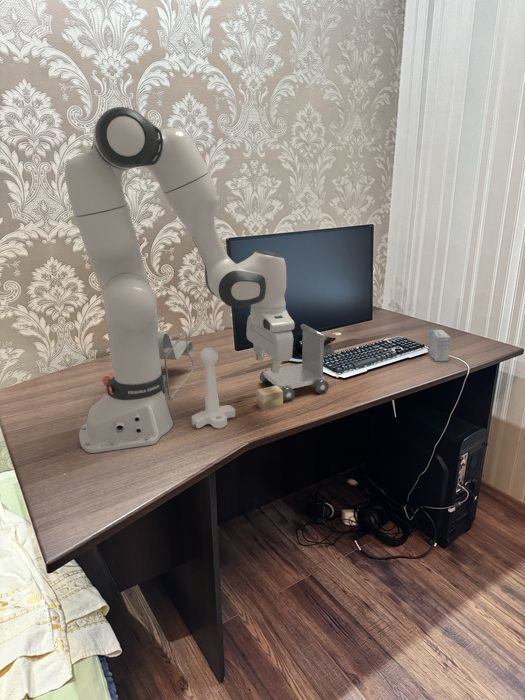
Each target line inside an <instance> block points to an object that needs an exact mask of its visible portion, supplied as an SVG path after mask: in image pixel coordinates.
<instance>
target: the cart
mask: <svg viewBox="0 0 525 700" xmlns="http://www.w3.org/2000/svg"><path fill="white" fill-rule="evenodd" d="M299 328H300V329H301V330H302V338H301V339H302V350H301V351H302V353H301V363H296V364H293V365H288V366H283V367H280V369H279V373H275V374H274V373H273V372H272V371H271V369H265V370H263V371H261V372H260V374H259V380H260V382H261V383H263V384H264V385H270V384H272V385H273V386H278V387H279V388H280V389H281V390H282V391H283V402H285V403H290V402H292V401H293V400H294V398H295V397H296V391H295V390H294V389H298V388H302V387H305V386H306V387H307V386H312V385H313V389H314V391H315V392H316V393H318V394H320V395H323V394H326V392H327V391H328V390H329V387H330V385H329V383H328V381H326V377H325V376H324V357H325V354H324V353H325V344H324V341H325V340H326V339H327V337H328V336H327V335H325V334H324V333H322V332H320V331H318V330H316V329H314V328H312V327H310V326H308V325H306V324H305V323H301V325H300V327H299Z"/></svg>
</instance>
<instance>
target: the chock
mask: <svg viewBox="0 0 525 700" xmlns="http://www.w3.org/2000/svg"><path fill="white" fill-rule="evenodd" d="M256 405H257V406H258V407H259V408H260V409H261V410H262V411H266V410H270V409H271V410H272V409H275V408H279V407H284V400H283V391H282V390H281V389H280V388H279V387H278V386H275V385H272V386H268V387H263V388H258V389H256Z"/></svg>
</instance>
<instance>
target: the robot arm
mask: <svg viewBox="0 0 525 700" xmlns="http://www.w3.org/2000/svg"><path fill="white" fill-rule="evenodd" d="M140 167H143V168H144V167H145V168H146V169H148V170H149V171H150V172H151V173H152V174H153V176H154V178H155V179H156V181H157V182H158V184H159V187H160V189H161V191H162V193H163V195H164V197H165V199H166V201H167V202H168V204H169V206H170V207H171V209H172V211H173V212H174V214H175V215H176V217H177V218H178V219H179V220H180V222H181V223H182V225H184V227H185V228H186V230H187V231H188V233H189V234H190V236H191V239H192V240H193V242H194V245H195V247H196V249H197V251H198V253H199V255H200V258H201V260H202V262H203V266H204V267H203V268H204V280H205V285H206V287H207V289H208V291H209V292H210V293H211V294H212V295H213V296H214V297H217V298H218V299H219V300H220V301H221V302H222V303H224V304H225V305H226V306H228V307H231V308H244V307H248V306H250V313H249V314H250V315H248V317H247V320H246V334H245V335H246V339H247V340H248V341H249V342H250V343H252V344H253V346H252V347H253V350H254V354H255V360H257V361H258V362H260V361H261V362H262V361H264V353H265V354H267V356H270V358H272V365H270V370H271V371H272V372H273V373H274V374H275V373H279V369H280V368H281V365H282V363H283V362H288V361H290V360H291V359H292V357H293V348H294V347H293V346H294V335H293V332H292V331H293V330H294V329H295V324H296V323H295V321H294V320H293V319H292V317H291V316H290V314H289V312H288V310H287V309H286V307H287V306H286V305H287V302H286V300H285V298H286V297H285V295H286V290H287V265H286V264H287V263H286V261H285V258H284V257H283V256H282V255H280V254H279V253H276V252H271V251H268V250H267V251H266V250H257V251H256V250H255V251H254V252H253V253H252V254H251V256H249V257H248V258H246V259H244V260H242V261H241V262H239V263H236V262H235V261H233V260H232V258H230V256H229V255H228V253H227V251H226V249H225V247H224V245H223V241H222V239H221V237H220V235H219V233H218V230H217V228H216V223H215V217H216V213H217V211H218V206H219V197H218V192H217V188H216V186H215V183H214V179H213V177H212V175H211V173H210V171H209V167H208V165H207V164H206V163H205V160H204V158H203V156H202V155H201V153H200V151H199V149H198V147H197V146H196V145H195V143H194V142H193V140H192V139H191V137H190V135H189V133H187V132H186V131H185V130H184V129H182V128H179V127H166V128H163V129H159V128H158V127H157V126H156V125H155V124H153V123H152V122H151V121H149V120H148V119H147V118H146V117H145V116H144V115H142V114H141V113H140V112H138V111H136V110H134V109H132V108H130V107H124V106H117V107H111V108H110V109H108V110H106V111H105V112H104V113H102V114H101V116H100V117H99V118H98V119H97V121H96V123H95V125H94V129H93V139H92V145H91V148H90V151H88V152H85V153H82V154H79V155H76V156H74V157H73V158H71V159H70V160H69V161H68V162H67V163H66V165H65V168H64V176H65V177H64V179H65V185H66V189H67V193H68V198H69V202H70V205H71V206H70V207H71V209H72V213H73V216H74V219H75V223H76V225H77V228H78V231H79V233H80V237H81V240H82V242H83V246H84V248H85V252H86V255H87V257H88V259H89V262H90V264H91V267H92V270H93V273H94V276H95V278H96V280H97V283H98V286H99V288H100V292H101V296H102V301H103V309H104V316H105V321H106V323H105V324H106V330H107V337H108V343H109V350H110V357H111V358H110V359H111V365H112V371H113V377H110V376H109V375H105V376H103V377H102V379H101V380H102V384H103V385H104V386H105V387H106V392H107V393H105V395H104V396H102V398H100V399H99V400H98V401H97V402H96V403H94V404H93V405H92V406H91V407H90V408H89V410H88V415H87V419H86V423H84V424H83V425H82V426H81V427H80V429H79V432H78V441H79V444H80V447H81V448H82V449H83V450H84V451H85V452H87V453H90V454H95V453H96V454H97V453H103V452H110V451H116V450H123V449H124V450H125V449H129V448H137V447H144V446H152V445H155V444H157V442H158V441H159V440H160V438H161V437H162V436H164V435H165V434H167V433H168V432H169V431H170V430H171V429H172V427H173V425H174V421H173V418H172V417H171V413H170V411H169V408H168V405H167V401H166V397H165V396H166V386H165V385H166V383H165V382H166V381H164V376H163V375H164V373H163V372H162V367H161V359H160V356H159V346H158V332H159V321H158V320H159V319H158V302H157V301H158V300H157V296H156V294H155V292H154V289H153V288H152V286H151V284H150V282H149V278H148V276H147V271H146V269H145V268H146V267H145V265H144V261H143V258H142V253H141V248H140V244H139V241H138V237H137V234H136V230H135V226H134V224H133V220H132V217H131V213H130V211H129V210H130V209H129V206H128V202H127V199H126V197H125V193H124V190H123V188H124V187H123V175H124V173H125V171H127V170H132V169H136V168H140Z"/></svg>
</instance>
